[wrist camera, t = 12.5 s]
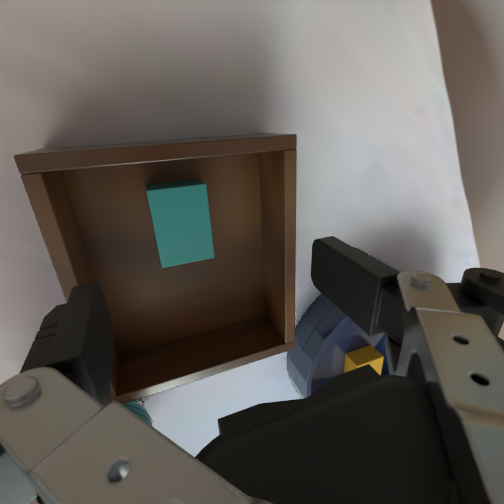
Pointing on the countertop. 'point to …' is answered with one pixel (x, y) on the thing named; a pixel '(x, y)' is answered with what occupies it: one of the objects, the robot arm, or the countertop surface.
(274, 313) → the box
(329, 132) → the countertop surface
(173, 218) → the block
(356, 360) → the block
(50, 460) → the robot arm
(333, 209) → the countertop surface
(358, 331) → the bowl
